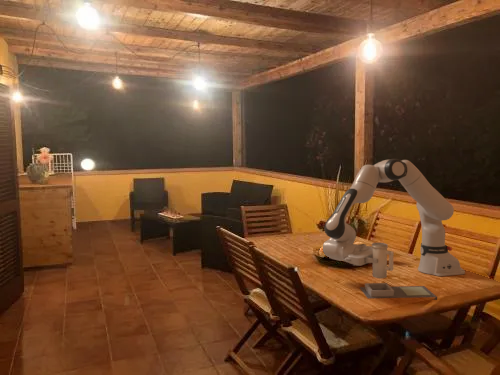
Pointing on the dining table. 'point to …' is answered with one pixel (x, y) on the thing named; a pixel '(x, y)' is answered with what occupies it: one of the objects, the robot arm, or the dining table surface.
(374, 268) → the jug
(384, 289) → the stand board
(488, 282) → the dining table surface
